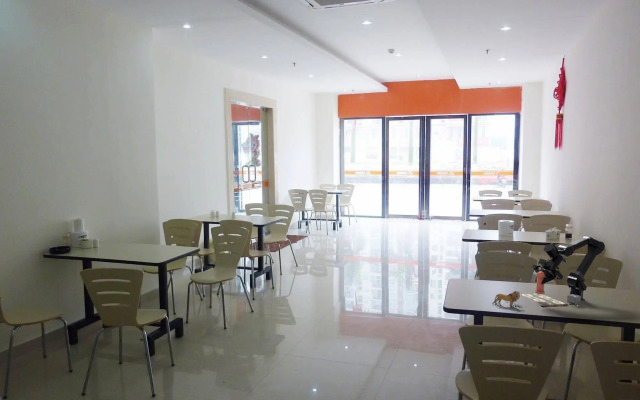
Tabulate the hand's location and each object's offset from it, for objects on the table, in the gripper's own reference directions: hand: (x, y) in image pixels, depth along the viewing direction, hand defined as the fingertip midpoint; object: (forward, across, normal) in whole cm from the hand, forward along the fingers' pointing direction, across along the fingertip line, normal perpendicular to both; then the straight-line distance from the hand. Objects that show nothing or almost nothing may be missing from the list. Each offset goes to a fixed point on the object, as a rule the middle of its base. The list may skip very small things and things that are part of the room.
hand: (538, 282), depth 276 cm
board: (+4, -2, +12) cm, 13 cm away
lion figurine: (+24, -1, -7) cm, 25 cm away
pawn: (+3, 0, +5) cm, 6 cm away
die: (-5, +8, +22) cm, 24 cm away
